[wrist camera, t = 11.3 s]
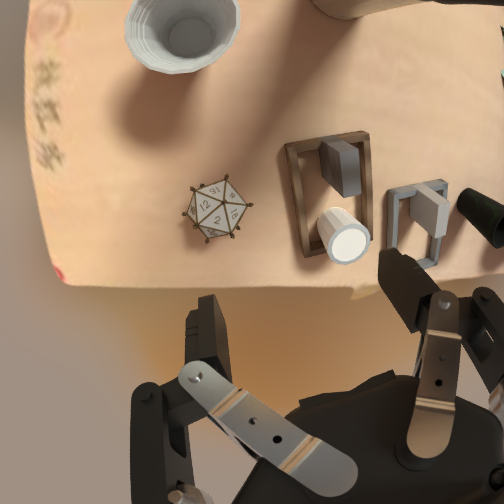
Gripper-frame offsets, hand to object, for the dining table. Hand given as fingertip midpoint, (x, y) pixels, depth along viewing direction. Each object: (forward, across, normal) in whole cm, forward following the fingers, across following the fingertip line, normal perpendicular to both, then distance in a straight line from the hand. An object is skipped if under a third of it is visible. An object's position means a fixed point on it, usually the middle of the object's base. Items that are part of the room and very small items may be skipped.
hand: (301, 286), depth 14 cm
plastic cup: (+30, +3, -16) cm, 34 cm away
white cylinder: (+30, -12, +16) cm, 36 cm away
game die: (+30, +5, +7) cm, 31 cm away
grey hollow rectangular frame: (+30, -28, +21) cm, 46 cm away
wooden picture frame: (+30, -12, +10) cm, 34 cm away
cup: (+30, -42, +18) cm, 55 cm away
